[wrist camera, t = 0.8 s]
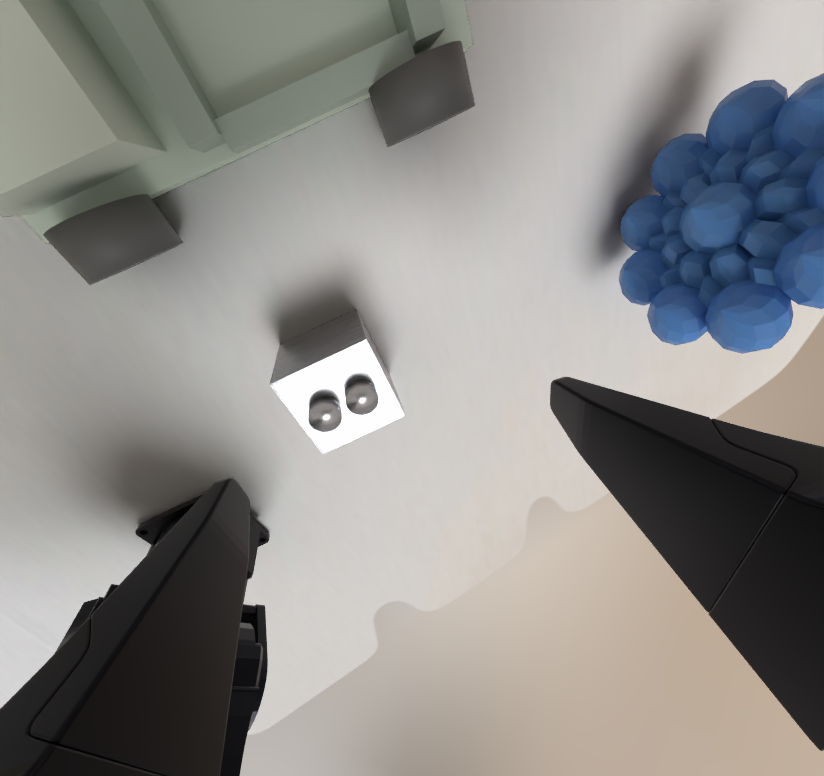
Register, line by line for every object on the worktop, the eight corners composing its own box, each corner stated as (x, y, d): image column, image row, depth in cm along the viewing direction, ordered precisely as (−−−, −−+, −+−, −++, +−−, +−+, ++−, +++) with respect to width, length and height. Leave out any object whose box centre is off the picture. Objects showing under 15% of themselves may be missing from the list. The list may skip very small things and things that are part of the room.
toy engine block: (322, 405, 23) (323, 464, 18) (280, 344, 20) (267, 393, 15) (389, 374, 23) (408, 424, 18) (356, 308, 20) (368, 345, 15)
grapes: (630, 317, 25) (841, 403, 15) (556, 300, 23) (744, 387, 13) (735, 128, 20) (1164, 64, 10) (653, 82, 18) (1095, -60, 8)
